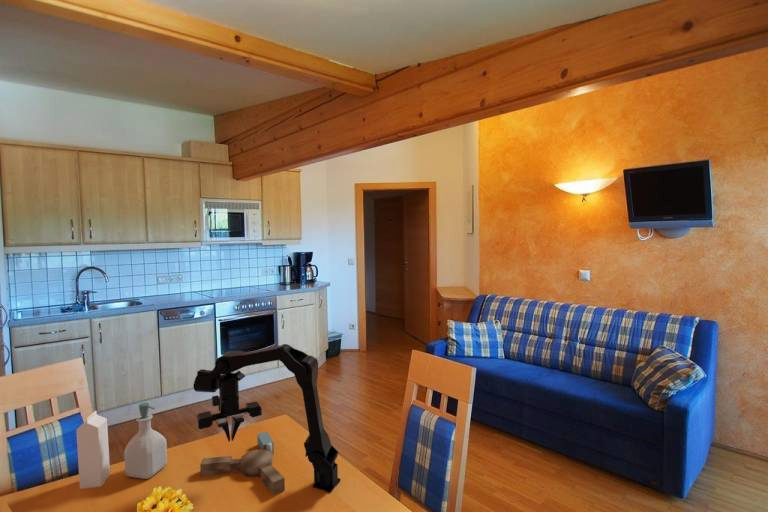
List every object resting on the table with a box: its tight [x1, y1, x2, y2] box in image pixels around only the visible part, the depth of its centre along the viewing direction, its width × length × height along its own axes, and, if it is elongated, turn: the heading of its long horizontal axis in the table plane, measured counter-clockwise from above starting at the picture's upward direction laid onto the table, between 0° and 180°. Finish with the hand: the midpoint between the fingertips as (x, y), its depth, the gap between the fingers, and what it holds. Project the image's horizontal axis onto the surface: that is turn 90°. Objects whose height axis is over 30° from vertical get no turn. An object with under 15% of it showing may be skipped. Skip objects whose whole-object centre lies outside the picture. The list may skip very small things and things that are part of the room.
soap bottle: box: [123, 402, 168, 480], centre depth 133 cm, size 10×10×23 cm
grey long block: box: [256, 431, 275, 455], centre depth 146 cm, size 11×4×4 cm, turn 30°
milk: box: [75, 410, 111, 490], centre depth 128 cm, size 6×6×22 cm
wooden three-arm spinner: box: [199, 448, 286, 496], centre depth 133 cm, size 31×16×4 cm, turn 68°
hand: (230, 440), depth 130 cm, fingers closed
